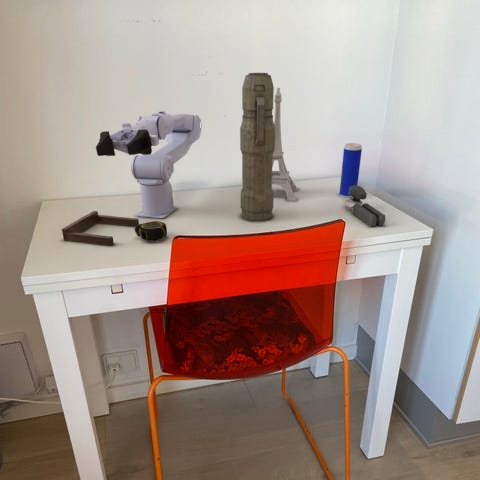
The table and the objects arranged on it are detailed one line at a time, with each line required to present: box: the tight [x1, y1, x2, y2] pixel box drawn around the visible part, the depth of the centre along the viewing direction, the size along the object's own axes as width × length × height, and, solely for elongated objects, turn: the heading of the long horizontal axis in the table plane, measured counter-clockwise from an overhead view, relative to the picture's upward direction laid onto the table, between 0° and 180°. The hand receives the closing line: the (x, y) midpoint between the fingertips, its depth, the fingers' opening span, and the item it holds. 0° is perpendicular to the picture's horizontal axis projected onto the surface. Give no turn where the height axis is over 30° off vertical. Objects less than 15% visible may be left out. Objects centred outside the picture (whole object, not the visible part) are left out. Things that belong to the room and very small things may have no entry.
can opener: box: [341, 185, 386, 228], centre depth 128 cm, size 19×5×6 cm, turn 13°
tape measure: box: [134, 220, 168, 242], centre depth 115 cm, size 7×7×4 cm
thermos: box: [239, 72, 275, 223], centre depth 120 cm, size 9×12×35 cm
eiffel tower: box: [272, 87, 298, 202], centre depth 140 cm, size 13×13×30 cm
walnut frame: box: [61, 210, 140, 247], centre depth 119 cm, size 14×13×3 cm
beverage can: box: [339, 142, 363, 198], centre depth 141 cm, size 5×5×15 cm
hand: (113, 150), depth 105 cm, fingers open, 7 cm apart
